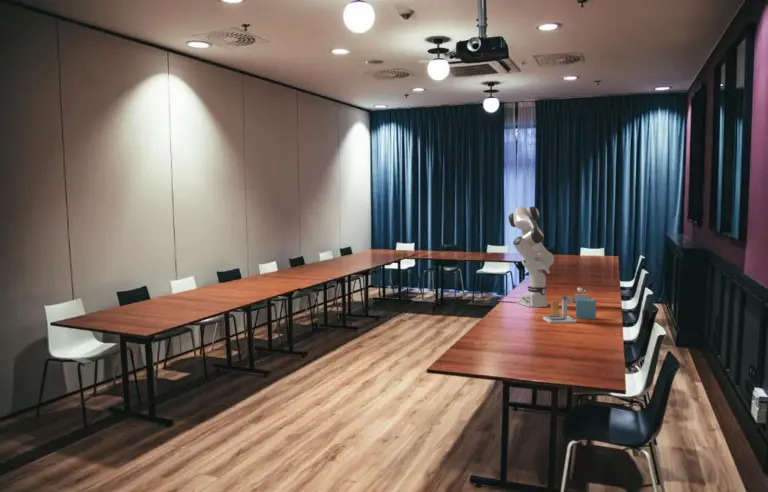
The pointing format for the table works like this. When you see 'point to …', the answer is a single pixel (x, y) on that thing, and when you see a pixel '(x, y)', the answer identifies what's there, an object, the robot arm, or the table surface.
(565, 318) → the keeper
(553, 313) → the wooden square pillar
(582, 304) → the data package
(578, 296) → the toy car
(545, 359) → the table surface
